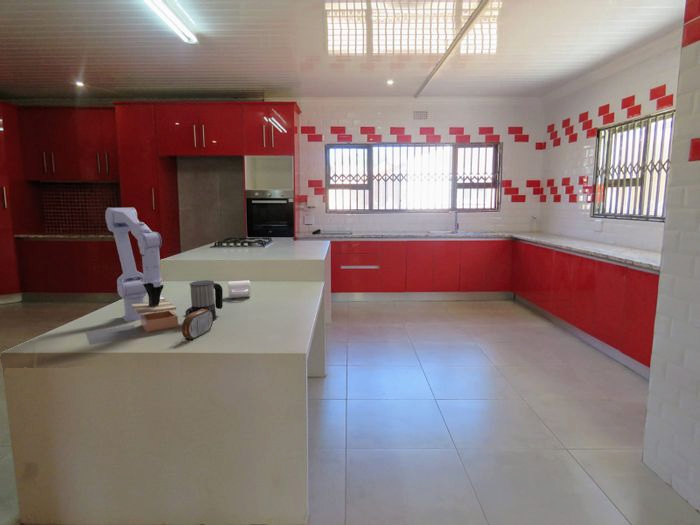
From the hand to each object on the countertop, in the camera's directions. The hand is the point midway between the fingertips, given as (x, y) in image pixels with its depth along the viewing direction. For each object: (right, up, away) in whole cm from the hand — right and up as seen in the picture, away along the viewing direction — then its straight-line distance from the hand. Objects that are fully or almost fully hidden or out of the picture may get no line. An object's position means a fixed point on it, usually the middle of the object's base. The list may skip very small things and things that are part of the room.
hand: (154, 303), depth 151 cm
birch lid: (0, -2, 0) cm, 2 cm away
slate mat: (-11, -10, -7) cm, 17 cm away
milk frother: (+11, -7, +15) cm, 20 cm away
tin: (+19, -11, -7) cm, 23 cm away
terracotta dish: (+1, -9, +2) cm, 9 cm away
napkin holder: (-12, -5, +32) cm, 34 cm away
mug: (+19, -2, +47) cm, 50 cm away
